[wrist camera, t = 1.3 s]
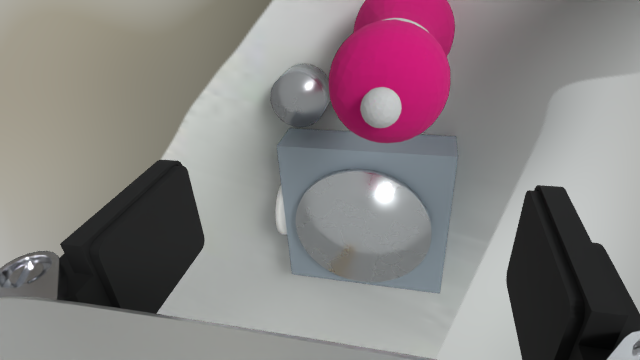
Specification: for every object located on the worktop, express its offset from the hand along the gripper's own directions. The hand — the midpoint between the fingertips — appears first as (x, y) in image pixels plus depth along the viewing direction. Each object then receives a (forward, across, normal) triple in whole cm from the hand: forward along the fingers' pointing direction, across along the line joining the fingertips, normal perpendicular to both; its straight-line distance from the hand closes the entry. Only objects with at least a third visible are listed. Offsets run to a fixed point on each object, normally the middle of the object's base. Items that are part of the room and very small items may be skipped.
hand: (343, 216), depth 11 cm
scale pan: (+23, +3, +18) cm, 29 cm away
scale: (+27, +3, +18) cm, 33 cm away
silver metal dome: (+27, +9, +6) cm, 29 cm away
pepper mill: (+27, 0, 0) cm, 27 cm away
